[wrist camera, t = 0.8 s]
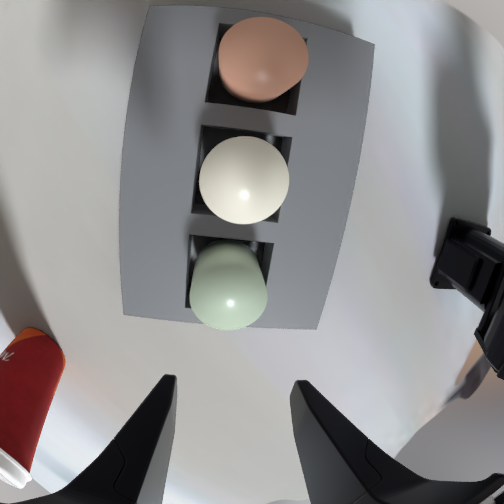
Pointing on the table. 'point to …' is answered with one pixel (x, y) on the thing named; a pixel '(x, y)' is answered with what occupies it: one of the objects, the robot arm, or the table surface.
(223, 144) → the cream button
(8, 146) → the table surface
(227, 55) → the pink button
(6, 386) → the paper cup
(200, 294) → the sage button
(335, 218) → the grey flat board
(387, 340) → the table surface
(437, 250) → the table surface
